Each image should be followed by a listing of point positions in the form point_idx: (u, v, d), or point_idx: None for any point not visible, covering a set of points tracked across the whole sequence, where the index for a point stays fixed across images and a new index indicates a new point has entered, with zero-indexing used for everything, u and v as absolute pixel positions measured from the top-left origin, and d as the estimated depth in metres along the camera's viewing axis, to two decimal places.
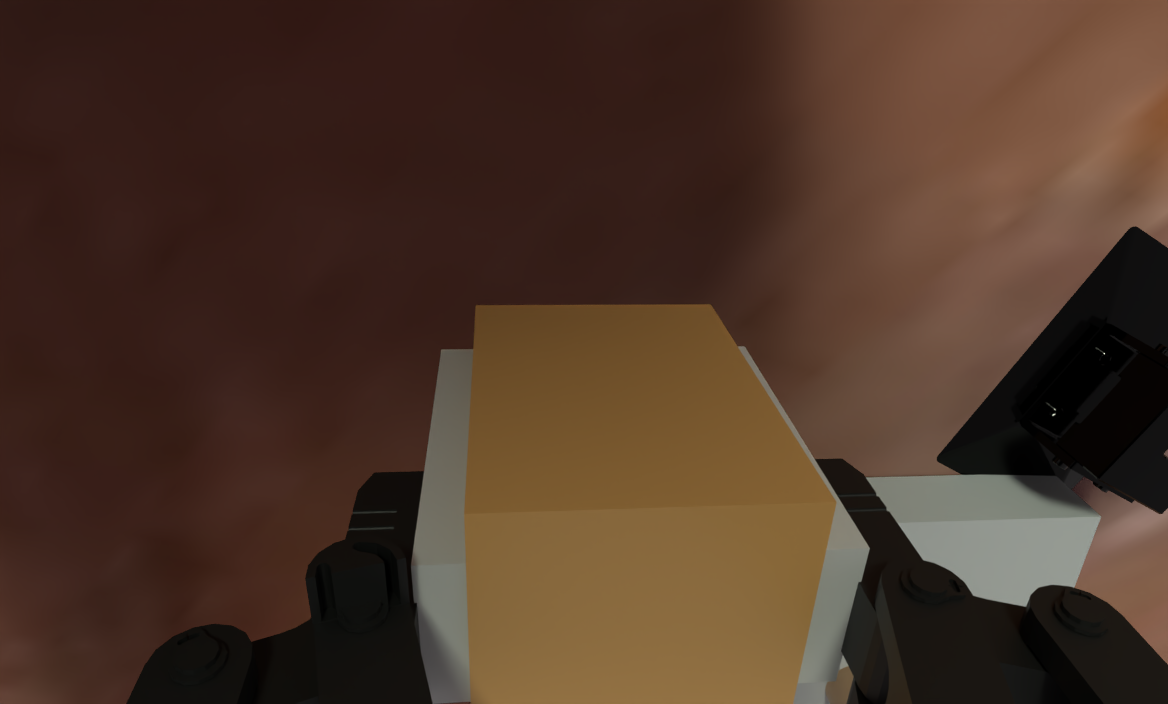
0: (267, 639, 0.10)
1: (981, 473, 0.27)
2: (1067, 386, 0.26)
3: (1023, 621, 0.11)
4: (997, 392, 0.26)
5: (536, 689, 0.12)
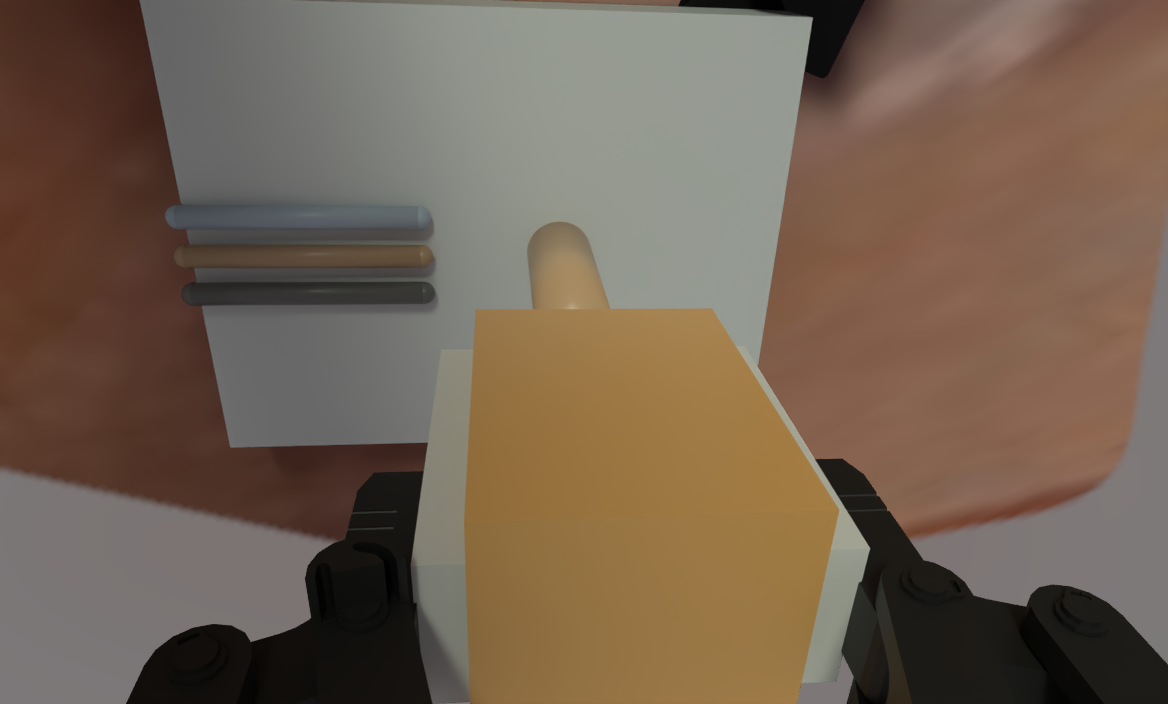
0: (267, 639, 0.10)
1: None
2: None
3: (1023, 621, 0.11)
4: None
5: (536, 697, 0.12)
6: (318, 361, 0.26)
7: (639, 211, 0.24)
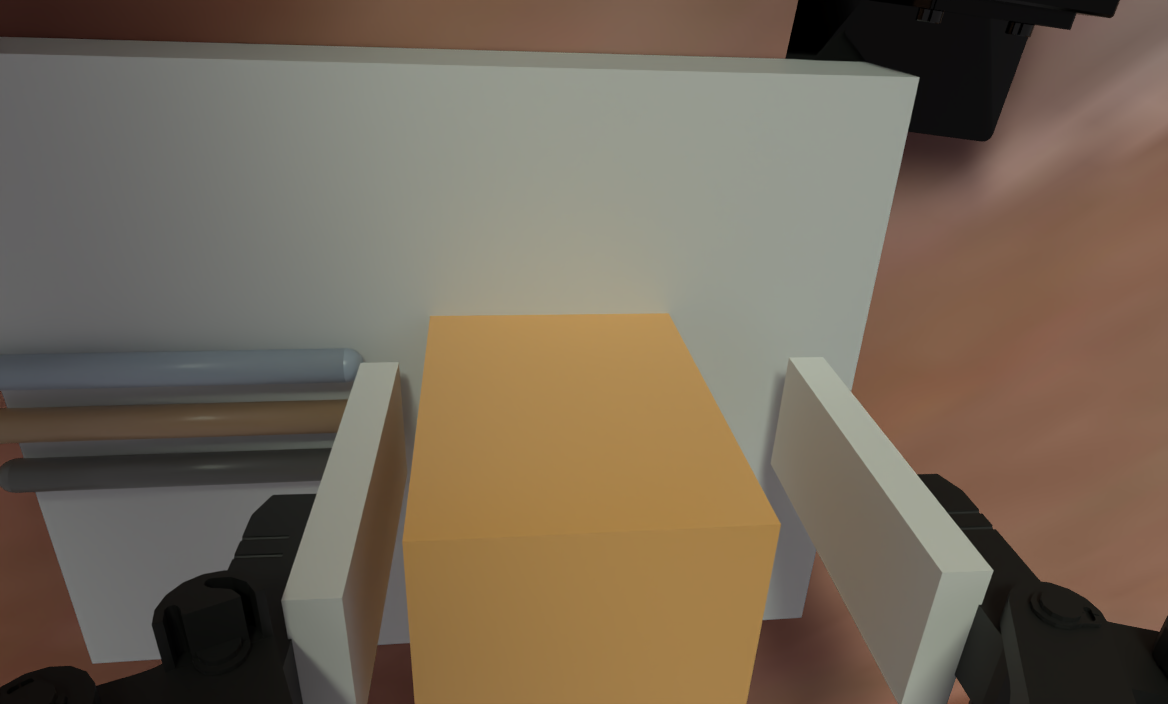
0: (122, 680, 0.10)
1: None
2: None
3: (1156, 642, 0.11)
4: None
5: None
6: (211, 552, 0.18)
7: None
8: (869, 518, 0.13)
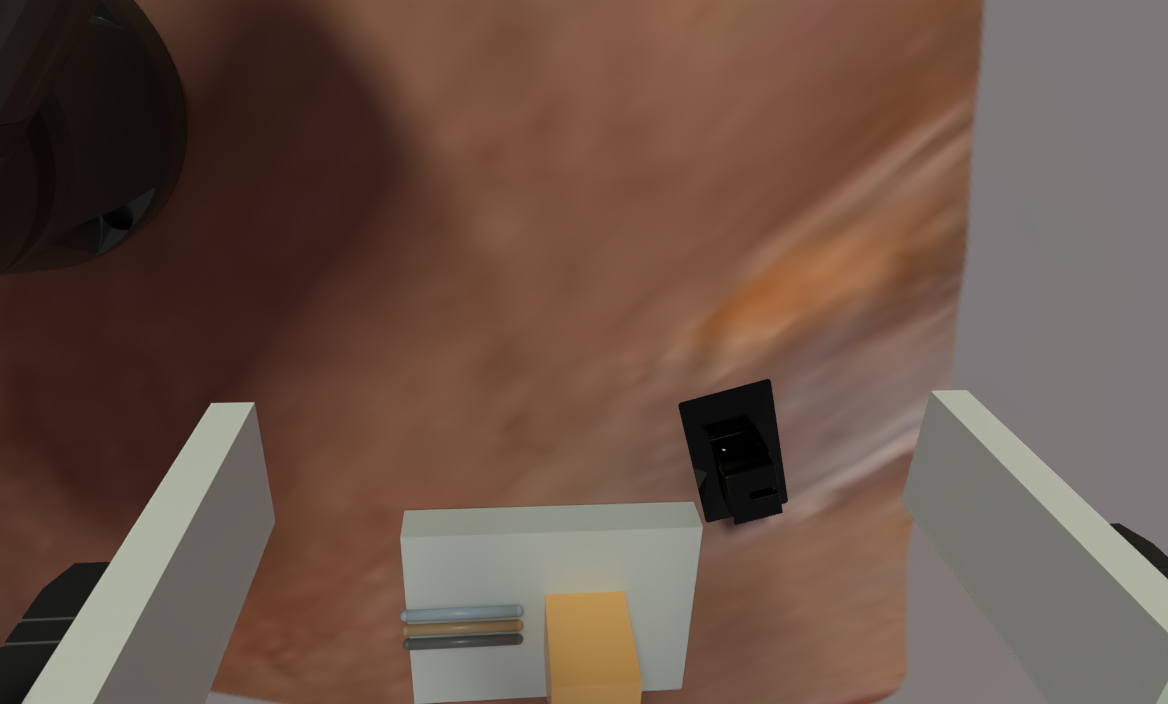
0: None
1: None
2: (720, 469, 0.49)
3: None
4: (700, 486, 0.50)
5: None
6: (463, 666, 0.51)
7: None
8: (1061, 576, 0.12)
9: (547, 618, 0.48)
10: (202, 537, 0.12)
